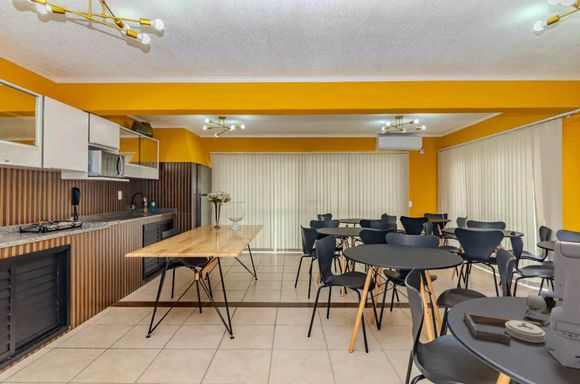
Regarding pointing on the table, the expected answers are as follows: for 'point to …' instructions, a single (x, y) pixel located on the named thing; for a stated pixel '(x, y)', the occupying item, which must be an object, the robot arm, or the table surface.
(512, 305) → the table surface
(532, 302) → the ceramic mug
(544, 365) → the table surface
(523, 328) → the lid
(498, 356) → the table surface
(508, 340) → the u-shaped bar frame
